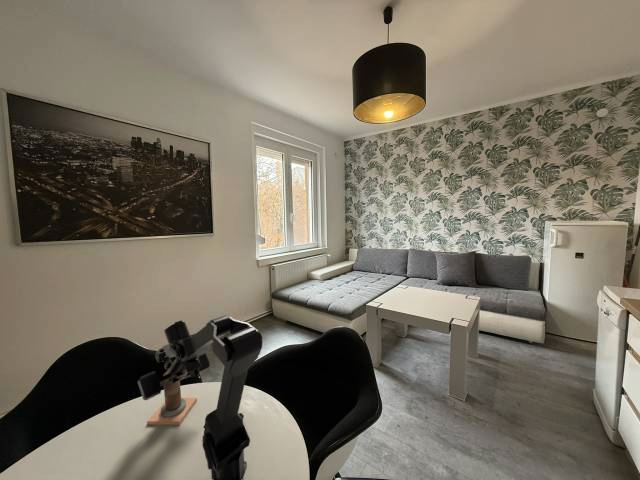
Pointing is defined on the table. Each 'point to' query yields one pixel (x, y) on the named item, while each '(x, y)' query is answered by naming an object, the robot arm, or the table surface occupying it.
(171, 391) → the tamper
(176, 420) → the tile rest
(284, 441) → the table surface
